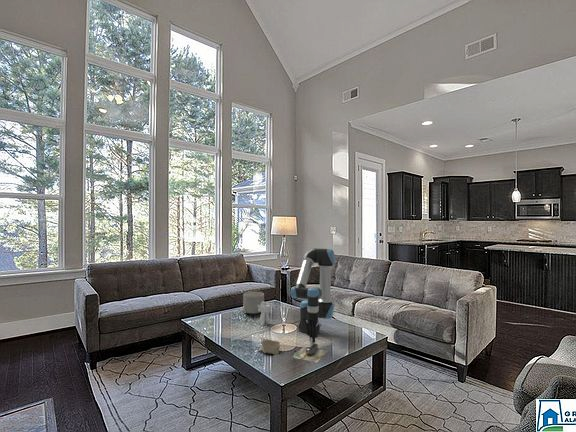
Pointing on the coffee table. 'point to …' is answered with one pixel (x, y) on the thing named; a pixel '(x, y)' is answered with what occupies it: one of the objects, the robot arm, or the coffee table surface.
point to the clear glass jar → (264, 313)
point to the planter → (252, 302)
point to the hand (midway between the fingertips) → (312, 347)
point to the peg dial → (311, 350)
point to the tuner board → (313, 358)
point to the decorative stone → (270, 346)
